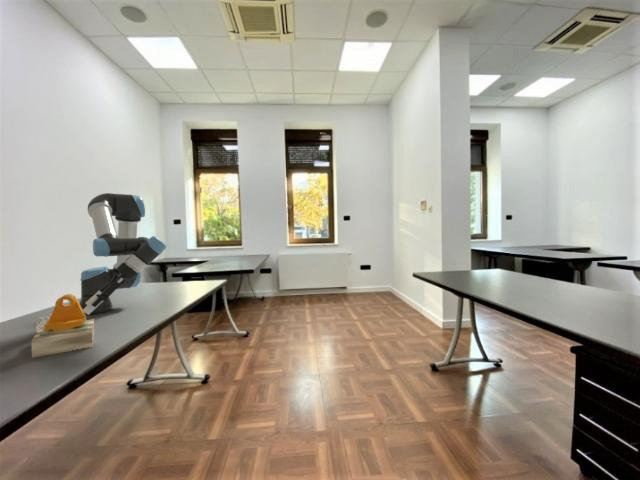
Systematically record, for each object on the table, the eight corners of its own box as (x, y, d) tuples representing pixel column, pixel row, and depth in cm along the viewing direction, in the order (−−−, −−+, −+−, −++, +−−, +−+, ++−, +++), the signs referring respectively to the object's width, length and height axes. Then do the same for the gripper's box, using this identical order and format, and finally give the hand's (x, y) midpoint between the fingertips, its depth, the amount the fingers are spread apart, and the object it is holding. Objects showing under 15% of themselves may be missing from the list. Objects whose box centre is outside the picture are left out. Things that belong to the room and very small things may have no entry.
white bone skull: (69, 319, 131) (72, 307, 126) (73, 336, 127) (76, 324, 122) (32, 326, 122) (34, 313, 117) (35, 344, 118) (36, 332, 113)
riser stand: (41, 341, 112) (41, 325, 112) (94, 333, 121) (94, 318, 121) (31, 358, 97) (31, 339, 97) (92, 346, 107) (91, 329, 106)
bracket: (43, 333, 103) (42, 299, 103) (50, 327, 109) (49, 295, 109) (81, 328, 108) (81, 296, 108) (86, 322, 115) (85, 292, 114)
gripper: (141, 276, 112) (93, 322, 104) (137, 270, 132) (97, 307, 124) (124, 264, 109) (73, 310, 101) (123, 259, 129) (80, 297, 121)
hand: (86, 308), depth 112 cm, fingers open, 13 cm apart
